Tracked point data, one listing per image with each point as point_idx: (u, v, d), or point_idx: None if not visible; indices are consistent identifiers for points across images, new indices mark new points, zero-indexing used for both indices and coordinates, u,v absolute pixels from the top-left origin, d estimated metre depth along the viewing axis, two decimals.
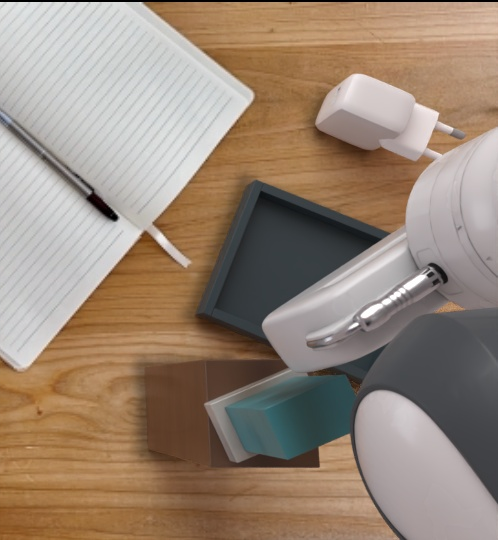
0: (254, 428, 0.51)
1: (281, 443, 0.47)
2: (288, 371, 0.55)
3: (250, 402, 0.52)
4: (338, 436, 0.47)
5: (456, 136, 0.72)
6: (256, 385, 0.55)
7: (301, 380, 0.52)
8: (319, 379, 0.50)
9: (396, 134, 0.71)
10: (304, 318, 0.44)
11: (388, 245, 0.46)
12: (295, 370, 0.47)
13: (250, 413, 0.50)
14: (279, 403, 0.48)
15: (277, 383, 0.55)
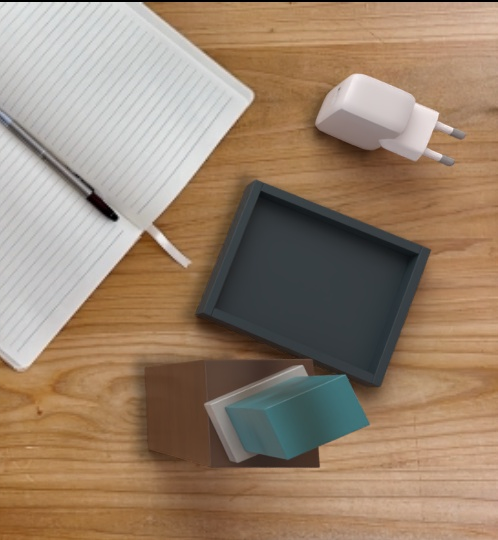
0: (254, 428, 0.51)
1: (281, 443, 0.47)
2: (288, 371, 0.55)
3: (250, 402, 0.52)
4: (338, 436, 0.47)
5: (456, 136, 0.72)
6: (256, 385, 0.55)
7: (301, 380, 0.52)
8: (319, 379, 0.50)
9: (396, 134, 0.71)
10: None
11: None
12: None
13: (250, 413, 0.50)
14: (279, 403, 0.48)
15: (277, 383, 0.55)
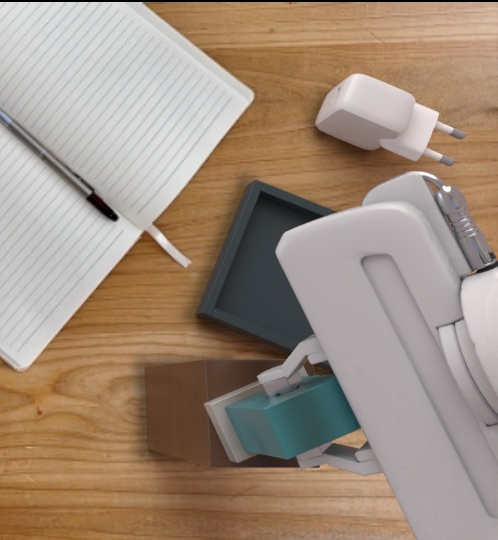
0: (254, 428, 0.51)
1: (281, 443, 0.47)
2: None
3: (250, 402, 0.52)
4: (338, 436, 0.47)
5: (456, 136, 0.72)
6: (256, 385, 0.55)
7: None
8: (319, 379, 0.50)
9: (396, 134, 0.71)
10: None
11: None
12: (291, 229, 0.47)
13: (250, 413, 0.50)
14: (279, 403, 0.48)
15: None
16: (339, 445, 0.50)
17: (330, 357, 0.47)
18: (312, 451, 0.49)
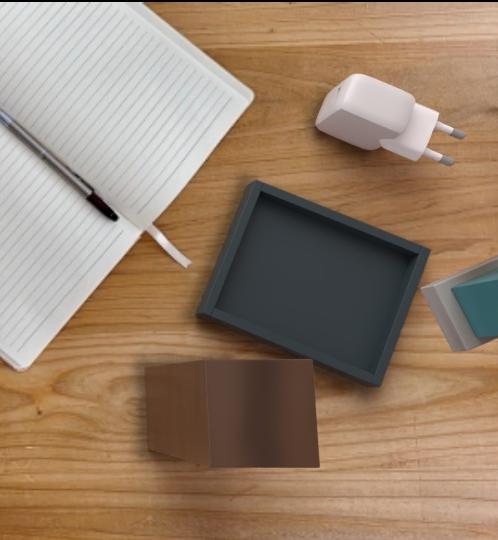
0: None
1: None
2: None
3: (494, 276, 0.45)
4: None
5: (456, 136, 0.72)
6: (486, 263, 0.48)
7: None
8: None
9: (396, 134, 0.71)
10: None
11: None
12: None
13: None
14: None
15: None
16: None
17: None
18: None
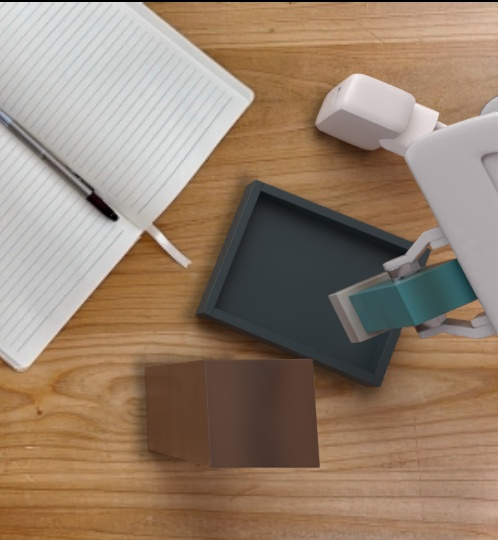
0: (381, 306, 0.61)
1: (410, 312, 0.58)
2: None
3: (375, 287, 0.62)
4: (457, 306, 0.58)
5: None
6: (374, 278, 0.65)
7: None
8: (437, 264, 0.60)
9: (396, 134, 0.71)
10: None
11: None
12: (419, 137, 0.58)
13: (378, 293, 0.61)
14: (408, 280, 0.58)
15: None
16: (453, 319, 0.60)
17: (452, 241, 0.57)
18: (432, 323, 0.60)
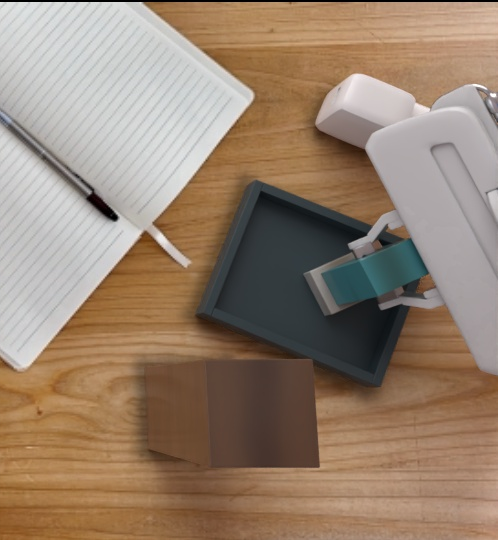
0: (349, 281, 0.68)
1: (373, 285, 0.65)
2: None
3: (343, 264, 0.70)
4: (414, 278, 0.65)
5: None
6: (344, 257, 0.73)
7: None
8: (397, 242, 0.68)
9: None
10: None
11: None
12: None
13: (346, 269, 0.68)
14: (370, 256, 0.66)
15: None
16: (409, 292, 0.68)
17: (406, 222, 0.65)
18: (390, 295, 0.67)
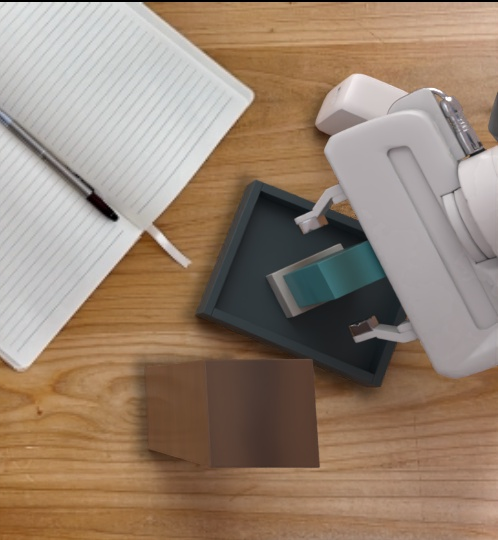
0: (308, 284, 0.69)
1: (330, 287, 0.65)
2: (329, 248, 0.73)
3: (303, 267, 0.70)
4: (371, 281, 0.65)
5: None
6: (306, 259, 0.73)
7: (341, 250, 0.70)
8: (355, 245, 0.68)
9: None
10: None
11: None
12: None
13: (305, 272, 0.68)
14: (328, 259, 0.66)
15: (321, 257, 0.73)
16: (384, 325, 0.68)
17: (364, 225, 0.65)
18: (364, 328, 0.67)
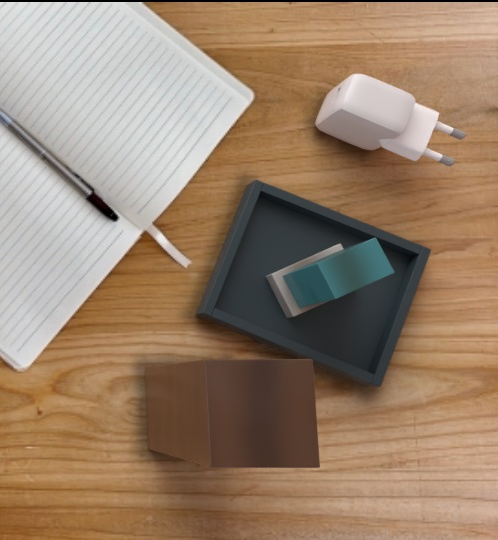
0: (308, 284, 0.69)
1: (330, 287, 0.65)
2: (329, 248, 0.73)
3: (303, 267, 0.70)
4: (371, 281, 0.65)
5: (456, 136, 0.72)
6: (306, 259, 0.73)
7: (341, 250, 0.70)
8: (355, 245, 0.68)
9: (396, 134, 0.71)
10: None
11: None
12: None
13: (305, 272, 0.68)
14: (328, 259, 0.66)
15: (321, 257, 0.73)
16: None
17: None
18: None
